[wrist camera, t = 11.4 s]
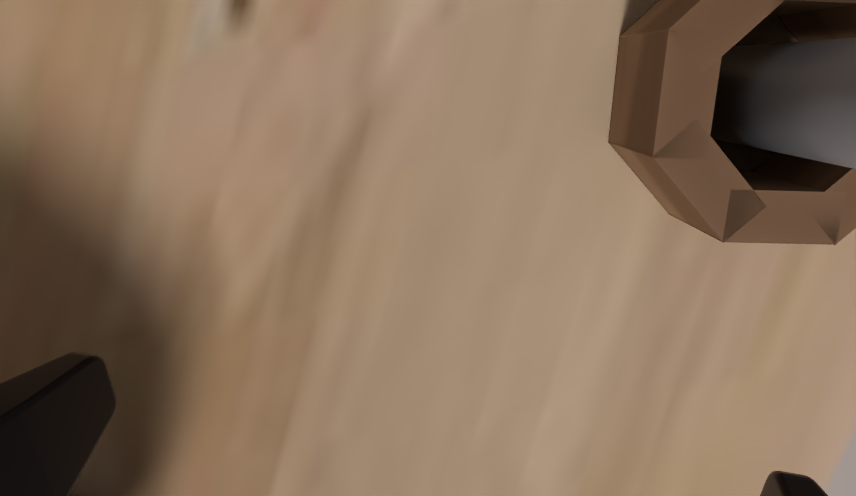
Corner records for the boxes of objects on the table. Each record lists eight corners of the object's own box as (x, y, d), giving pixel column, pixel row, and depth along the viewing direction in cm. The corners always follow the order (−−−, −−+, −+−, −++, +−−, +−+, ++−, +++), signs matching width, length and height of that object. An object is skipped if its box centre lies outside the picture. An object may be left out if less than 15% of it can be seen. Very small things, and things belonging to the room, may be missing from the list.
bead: (708, 262, 21) (769, 299, 18) (562, 88, 19) (598, 92, 16) (900, 100, 20) (1004, 107, 17) (764, -98, 18) (848, -136, 15)
